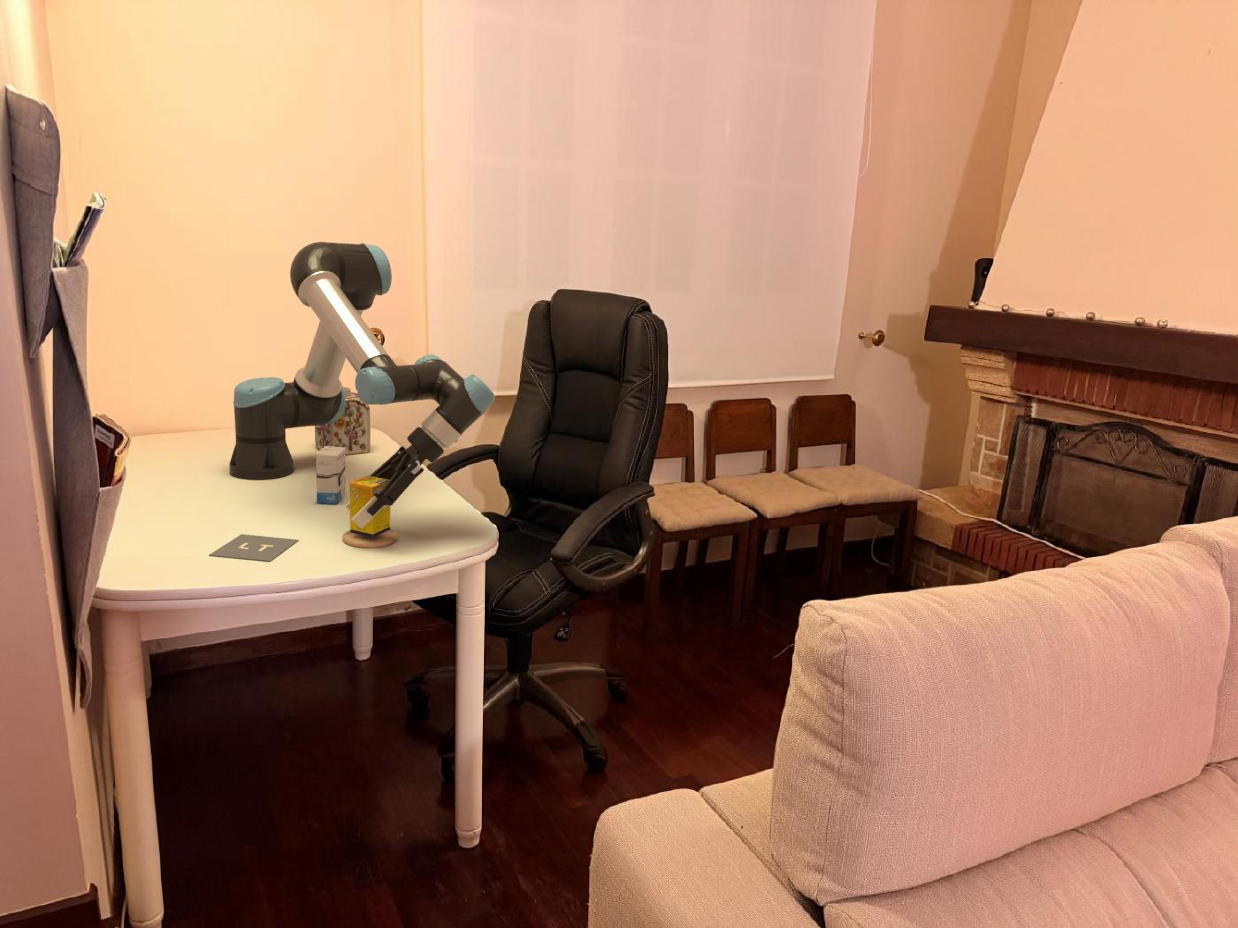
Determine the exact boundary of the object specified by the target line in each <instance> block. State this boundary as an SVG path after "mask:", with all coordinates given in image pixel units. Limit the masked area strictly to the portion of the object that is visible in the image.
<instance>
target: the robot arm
mask: <svg viewBox="0 0 1238 928" xmlns="http://www.w3.org/2000/svg"><path fill="white" fill-rule="evenodd" d="M392 275H393V274H392V268H391V264H390V260H389V258H388V256H387V254H386V253H385V251H384V250H383V249H382V248H381V247H380V246H378V245H376V244H367V243H363V242H361V243H346V242H345V243H343V242H327V241H317V242H312V243H309V244H307V245H306V246H305V245H304V246H303V248H301V249H300V250H299V251H298V252H297V253H296V255H295V256H294V258H293V259H292V262H291V266H290V270H289V278H290V284H291V287H292V290H293V291H294V293H295V295H296V297H297V298H298V299H299V301H300V302H301V303H302V304H303V305H304V306H306V307H308V308H311V310H312V311H313V312H314V314H315V315H316V317H317V318H318V319H319V321H318V325H317V328H316V331H315V335H314V338H313V341H312V344H311V347H310V350H309V353H308V356H307V360H306V362H305V365H304V367H301V368H299V369H298V370H297V371H296V373H295V375H294V378H293V381H291V382H285V381H284V379H282V378H280V377H276V376H275V377H274V376H272V377H271V376H270V377H269V376H268V377H257V378H251V379H246V380H244V381H241V382H239V383H238V384H237V385H236V386H235V388H234V390H233V401H232V404H233V407H234V408H233V410H234V412H233V413H234V414H233V415H234V427H235V432H234V433H235V445H234V446H233V447H234V448H233V451H232V454H231V458H230V461H229V465H228V466H229V467H228V469H229V474H230V475H231V476H233V477H236V478H238V479H246V480H269V479H278V478H282V477H285V476H289V475H291V474H292V473H294V471H295V464H294V463H295V462H294V459H293V457H292V455H291V452H290V448H289V446H288V443H287V441H286V439H287V437H286V436H287V435H286V434H287V433H286V432H287V431H286V430H287V429H295V428H305V427H315V426H316V425H325V424H328V423H333V422H335V421H337V420H338V419H339V418H340V417H341V416H342V414H343V412H344V410H345V405H346V402H345V398H346V395H345V391H344V388H343V387H344V386H343V384H342V382H341V380H340V375H341V373H342V371H343V367H344V366H345V365H344V364H345V362H346V359H347V361H348V362H349V364H350V365H351V367H352V368H353V369H354V371H355V373H356V376H355V379H354V380H355V381H354V385H355V386H354V387H355V390H356V391H357V392H356V393H357V395H358V397H359V398H360V400H361V401H362V402H364V403H365V404H368V405H369V406H372V405H378V406H379V405H380V406H381V405H384V406H386V405H388V404H389V405H390V404H395V403H397V404H398V403H405V402H416V401H425V400H433V401H434V402H436V403H437V404H438V406H437V407H436V408H435V409H434V410H433V411H432V412H431V413H430V414H429V415H427V416H426V418H424V420H423V421H421V423H420V424H421V427H420V426H418V427H416V428H415V429H414V430H413V431H412V432H411V433H410V434H409V435H408V436H407V438H406V439H407V441H408V442H409V443H410V446H409V447H407V448H405V447H404V446H400V447H399V448H398V449H397V451H395V452H394V454H392V456H390V457H389V458H388V459H387V460H386V461H385V462H383V463H382V464H381V465H380V466H379V467H378V468H377V469H376V470H374V472H372V473H371V474H370V475H369V476H372V477H377V478H382V479H387V480H389V481H388V483H387V484H386V485H385V487H384V488H383V489H382V491H381V492H380V493H379V494H378V493H375V494H374V497H373V498H372V499H371V500H370V501H369V502H368V503H367V504H366V505H365V506H364V507H363V508H362V509H361V510H360V511H359V512H358V513H357V514H356V515H355V516H354V517H353V518H352V519H351V520H352V521H353V522H354V523H355V524H357V525H358V526H359V527H360V528H361V529H362V528H363V527H364V526H365V525H366V524H367V523H368V522H369V521H370V520H371V519H372V518H373V517H374V516H375V515H376V514H377V513H378V512H379V511H380V510H381V509H382V508H383V507H384V506H385V505H386V506H387V505H389V506H390V507H392V505H394V503H396V501H397V500H398V499H399V498H400V496H401V495H402V494H403V493H404V492H405V491H406V490H407V489H408V487H409V486H410V485H411V484H412V483H413V482H414V481H415V480H416V479H417V478H418V477H419V476H420V475H421V474H422V473H424V471H425V470H424V468H423V467H422V464H423V463H424V462H425V461H426V460H428V461H429V462H430V463H435V462H436V461H437V460H438V459H439V458H440V457H441V456H442V455H443V454H444V452H445V449H449V448H450V447H451V446H453V444H454V443H458V442H459V440H458V439H459V438H460V437H461V436H462V435H463V433H464V432H466V430H468V429H469V427H470V426H472V425H473V424H474V423H475V422H476V421H477V420H478V419H480V417H482V415H484V414H485V413H486V412H487V410H488V409H489V408H490V406H491V405H492V404H493V403H494V402H495V400H496V396H495V394H494V392H493V391H492V390H491V388H490V387H488V386H487V384H485V382H484V381H482V380H481V378H479V377H478V376H477V375H475V374H470V375H469V376H467V377H465V378H463V377H462V375H460V374H459V373H458V372H457V371H456V370H454V368H452V366H450V364H449V363H447V361H445V360H443V359H441V358H440V357H439V356H438V355H435V354H426V355H423V357H420V358H418V359H417V360H416V361H415V362H414V364H406V365H397V364H396V362H395V361H394V360H393V358H392V357H391V356H390V355H389V353H388V352H387V351H386V349H385V348H384V346H383V345H382V344H381V343H380V341H379V339H378V338H377V337H376V336H375V334H374V333H373V331H372V329H370V327H369V326H368V325H367V323H366V322H365V320H364V319H363V317H362V315H363V312H365V311H367V310H369V309H371V307H373V304H374V301H375V298H376V297H377V296H380V297H381V296H383V295H385V294H387V293H388V292H389V291H390V290H391V289H390V288H391V287H392V279H393V278H392V277H393V276H392ZM344 507H346V509H347V510H349V511H350V500H349V501H347V503H346V504H345V505H344Z"/></svg>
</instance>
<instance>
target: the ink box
mask: <svg viewBox="0 0 1238 928" xmlns="http://www.w3.org/2000/svg"><path fill="white" fill-rule="evenodd" d="M315 454H316V455H315V465H316V470H315V471H316V504H324V505H325V504H326V505H327V504H328V505H338V504H339V503H340V502H341V500H342V499H343V498H344V497H345V495H346V493H347V492H346V491H347V488H346V484H347V481H346V479H347V477H346V455H345V447H333V446H325V447H324V448H322V449H321V450H319V451H317V452H316V453H315Z"/></svg>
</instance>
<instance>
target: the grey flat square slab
mask: <svg viewBox="0 0 1238 928" xmlns="http://www.w3.org/2000/svg"><path fill="white" fill-rule="evenodd" d="M297 542H299V539H293V538H285V537H283V538H282V537H275V536H274V537H273V536H264V535H254V534H244V533H241V534H240V535H237V537H234V538H233V539H232V540H230V541H229V542H227V543H225V544H224V545H222V546H221V547H218V549H216V550H214V551H212V552H211V553H210V554H208V556H210V557H217V558H229V559H238V560H247V561H258V562H268V563H270V562H272V561H273V560H274V559H276V558H278V557H279V556H281V555H282V554H283V553H284V552H285V551H287V550H288V549H289V548H291V547H292V546H293V545H295V544H297Z"/></svg>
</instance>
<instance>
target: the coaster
mask: <svg viewBox="0 0 1238 928" xmlns="http://www.w3.org/2000/svg"><path fill="white" fill-rule="evenodd" d="M341 540H342V543H344V544H345V545H347V546H349V547H352V548H360V549H378V548H383V547H387V546H390V545H393V544H395V543H396V542H397V541H398V540H399V539H398V533H397V531H395V530H393V529H390V530H388V531H386V532H384V533H382V534H379V535H377V536H375V537H373V538H372V537H367V536H363V535H358V534H354V533H350V530H347V531H346V532H344V533H343V534H342V538H341Z"/></svg>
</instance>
